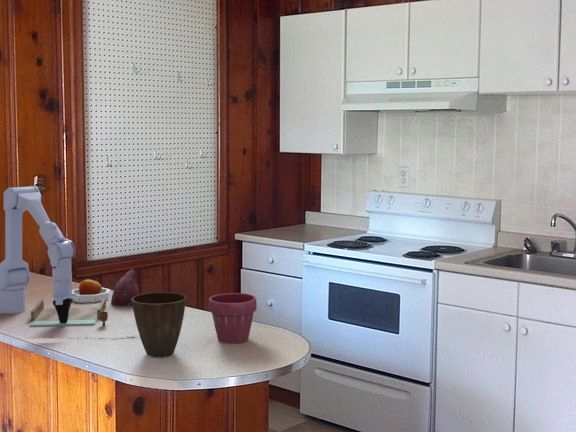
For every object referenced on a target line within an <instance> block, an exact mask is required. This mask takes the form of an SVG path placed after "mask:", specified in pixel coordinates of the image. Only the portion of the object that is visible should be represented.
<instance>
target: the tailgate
mask: <svg viewBox="0 0 576 432" xmlns="http://www.w3.org/2000/svg"><path fill="white" fill-rule="evenodd" d="M97 321H98V319H86V320H68V321H67V323H60V322H59V320H46V321H32V322H31V323H30V324H29V327H30V328H36V327H73V326H74V327H76V326H80V327H81V326H95V325H96V323H97Z"/></svg>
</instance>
